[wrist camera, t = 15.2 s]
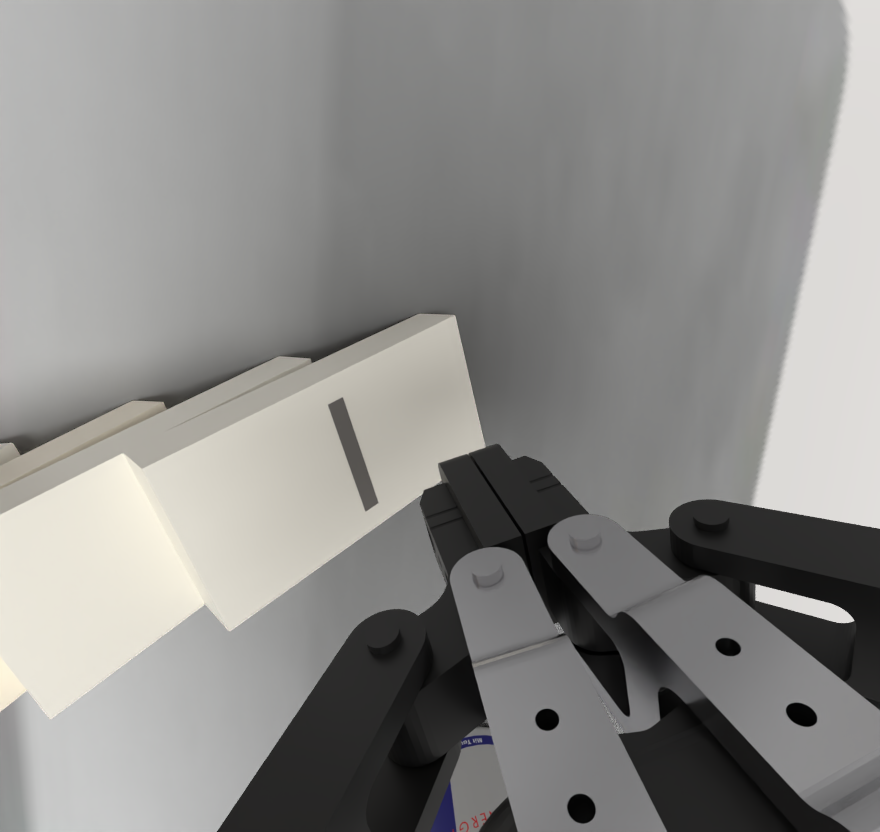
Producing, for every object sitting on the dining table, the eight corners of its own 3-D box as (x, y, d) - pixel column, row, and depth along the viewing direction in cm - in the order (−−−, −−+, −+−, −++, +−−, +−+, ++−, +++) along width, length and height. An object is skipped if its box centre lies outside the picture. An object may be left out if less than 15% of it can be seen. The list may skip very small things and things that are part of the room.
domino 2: (357, 491, 19) (50, 720, 13) (326, 480, 21) (30, 686, 14) (310, 358, 17) (-80, 554, 11) (278, 356, 19) (-90, 531, 12)
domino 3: (486, 448, 20) (229, 632, 14) (451, 438, 21) (204, 603, 16) (455, 314, 18) (141, 469, 12) (418, 313, 19) (121, 451, 14)
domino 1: (227, 532, 19) (-145, 826, 12) (196, 524, 20) (-164, 790, 13) (163, 401, 17) (-336, 660, 10) (131, 400, 18) (-341, 633, 11)
